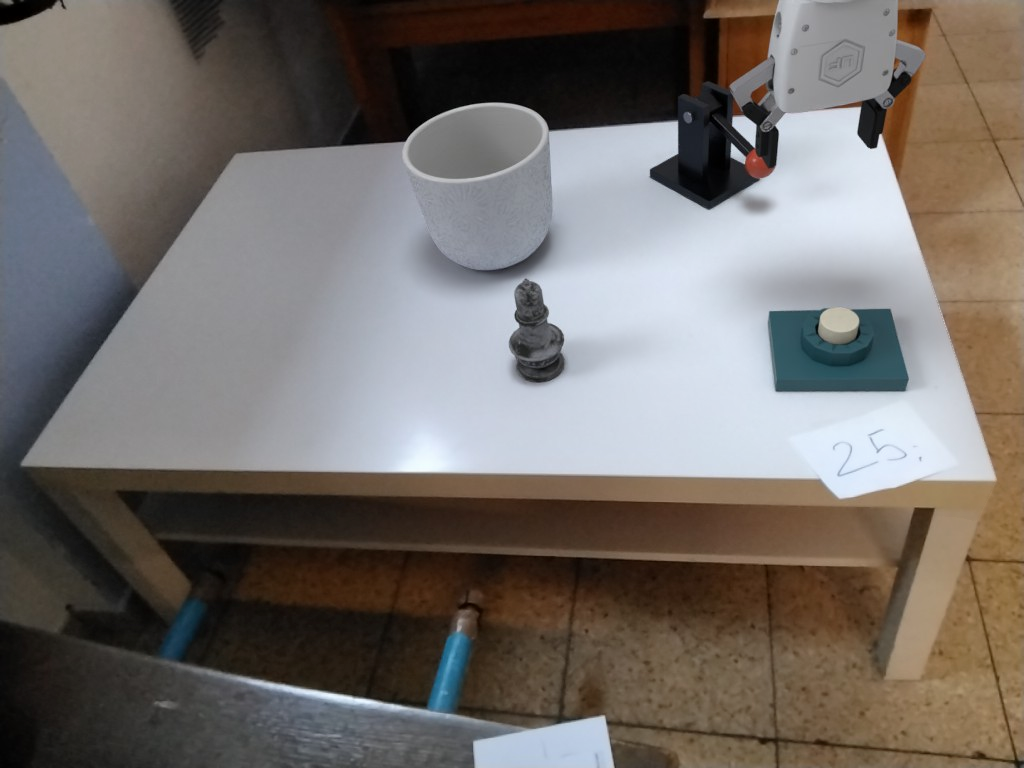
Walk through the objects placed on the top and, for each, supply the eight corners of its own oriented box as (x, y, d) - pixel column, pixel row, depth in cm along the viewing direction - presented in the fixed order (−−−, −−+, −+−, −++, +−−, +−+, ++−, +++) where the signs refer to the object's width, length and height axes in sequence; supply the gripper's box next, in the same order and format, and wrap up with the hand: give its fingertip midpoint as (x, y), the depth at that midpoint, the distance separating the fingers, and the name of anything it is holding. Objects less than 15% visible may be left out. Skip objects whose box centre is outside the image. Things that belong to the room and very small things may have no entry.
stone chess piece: (569, 344, 91) (557, 257, 82) (566, 383, 87) (553, 296, 78) (516, 346, 92) (499, 261, 83) (510, 385, 88) (492, 299, 79)
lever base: (760, 179, 106) (766, 94, 98) (708, 210, 103) (711, 124, 95) (699, 149, 113) (700, 66, 105) (649, 177, 110) (647, 94, 102)
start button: (853, 319, 82) (856, 306, 81) (859, 344, 80) (862, 331, 79) (815, 320, 83) (817, 307, 82) (820, 345, 81) (822, 332, 80)
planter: (427, 221, 111) (400, 117, 100) (551, 197, 110) (537, 90, 100) (433, 301, 99) (403, 194, 88) (572, 275, 99) (559, 163, 88)
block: (887, 320, 86) (893, 294, 84) (905, 391, 79) (913, 365, 77) (767, 322, 88) (770, 297, 86) (775, 391, 82) (778, 366, 79)
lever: (775, 176, 100) (787, 156, 97) (754, 189, 99) (765, 169, 95) (704, 105, 104) (713, 84, 101) (683, 116, 103) (691, 95, 99)
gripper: (748, 4, 65) (739, 189, 78) (967, -39, 65) (923, 154, 77) (722, -29, 71) (717, 149, 83) (924, -70, 70) (889, 115, 82)
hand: (816, 151), depth 80 cm, fingers open, 9 cm apart
